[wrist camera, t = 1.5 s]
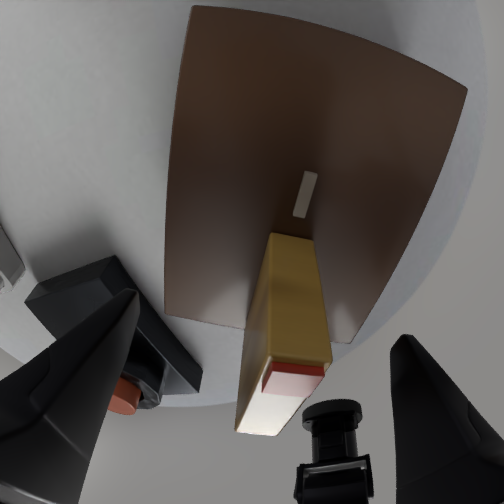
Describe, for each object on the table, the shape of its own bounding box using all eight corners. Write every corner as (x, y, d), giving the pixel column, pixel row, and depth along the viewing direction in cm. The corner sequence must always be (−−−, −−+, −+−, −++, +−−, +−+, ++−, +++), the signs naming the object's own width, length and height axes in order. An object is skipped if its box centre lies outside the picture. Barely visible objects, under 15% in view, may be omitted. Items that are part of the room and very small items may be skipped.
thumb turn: (278, 333, 12) (277, 443, 8) (244, 328, 12) (233, 439, 8) (314, 239, 9) (336, 371, 5) (270, 230, 9) (266, 363, 5)
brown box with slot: (323, 297, 17) (334, 370, 13) (188, 273, 17) (164, 344, 13) (405, 75, 10) (472, 89, 6) (221, 26, 10) (189, 3, 5)
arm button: (150, 396, 19) (145, 416, 18) (116, 395, 20) (110, 413, 19) (120, 369, 18) (113, 390, 16) (87, 370, 18) (79, 389, 17)
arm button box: (203, 370, 23) (195, 413, 20) (122, 376, 25) (109, 411, 22) (115, 254, 17) (85, 300, 13) (37, 283, 19) (11, 319, 16)
